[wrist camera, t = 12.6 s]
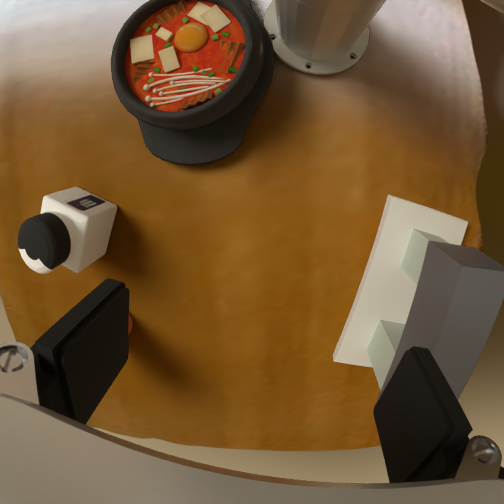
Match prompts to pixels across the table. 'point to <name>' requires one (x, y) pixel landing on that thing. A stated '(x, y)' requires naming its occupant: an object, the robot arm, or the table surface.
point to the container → (67, 231)
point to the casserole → (192, 75)
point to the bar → (452, 310)
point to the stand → (392, 282)
